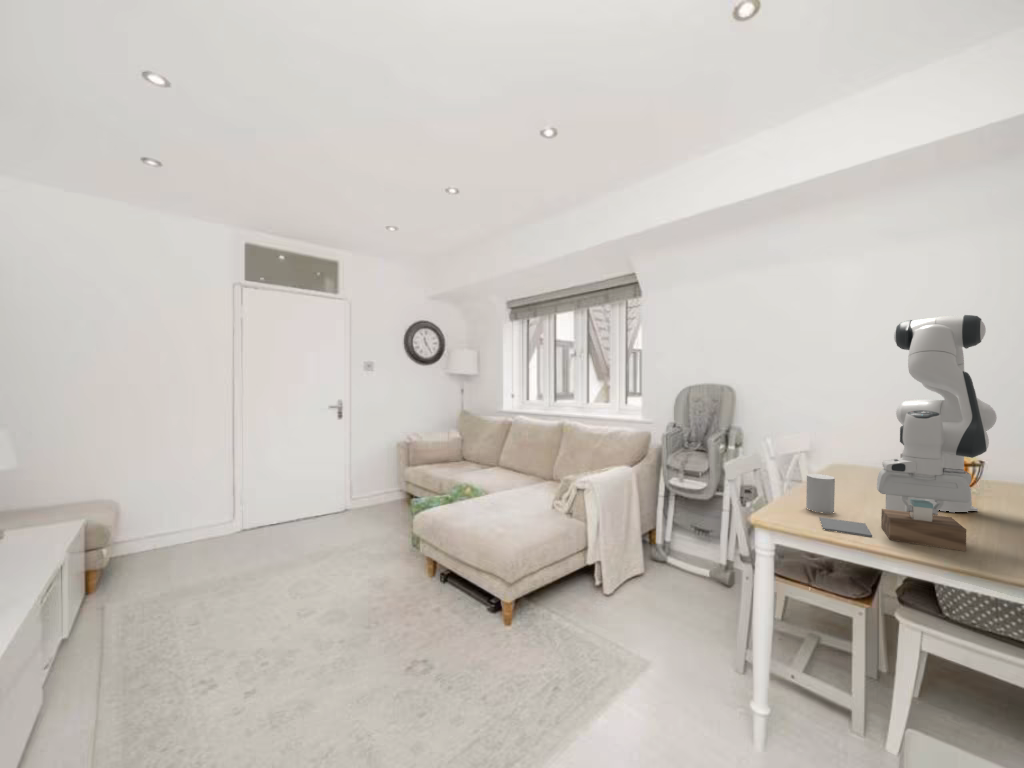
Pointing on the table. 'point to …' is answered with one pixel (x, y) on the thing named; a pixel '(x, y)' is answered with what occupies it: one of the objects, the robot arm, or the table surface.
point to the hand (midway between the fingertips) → (921, 512)
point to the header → (923, 530)
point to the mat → (845, 526)
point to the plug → (921, 510)
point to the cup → (820, 493)
